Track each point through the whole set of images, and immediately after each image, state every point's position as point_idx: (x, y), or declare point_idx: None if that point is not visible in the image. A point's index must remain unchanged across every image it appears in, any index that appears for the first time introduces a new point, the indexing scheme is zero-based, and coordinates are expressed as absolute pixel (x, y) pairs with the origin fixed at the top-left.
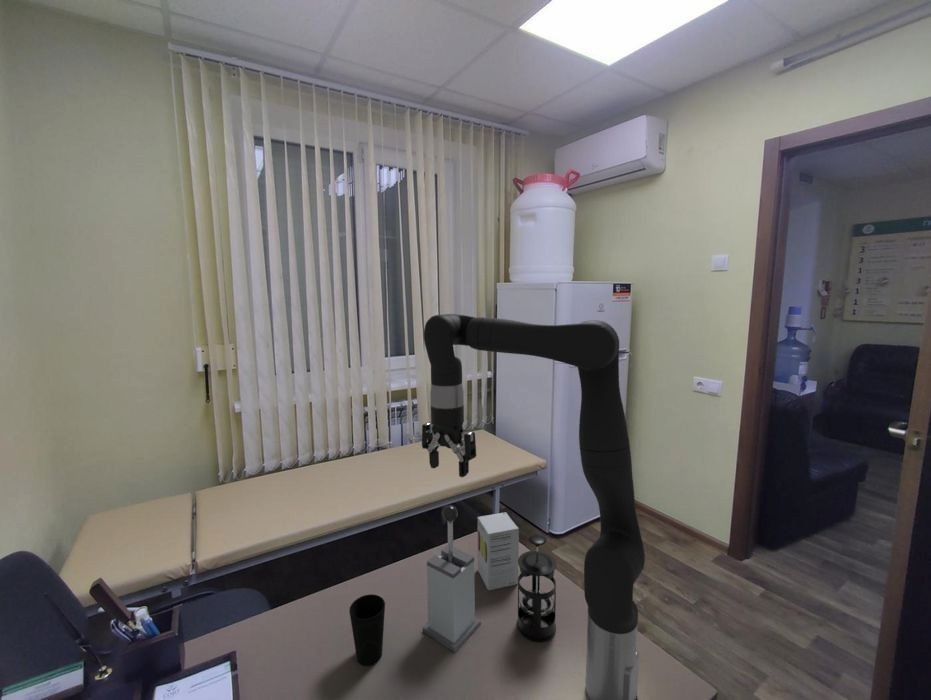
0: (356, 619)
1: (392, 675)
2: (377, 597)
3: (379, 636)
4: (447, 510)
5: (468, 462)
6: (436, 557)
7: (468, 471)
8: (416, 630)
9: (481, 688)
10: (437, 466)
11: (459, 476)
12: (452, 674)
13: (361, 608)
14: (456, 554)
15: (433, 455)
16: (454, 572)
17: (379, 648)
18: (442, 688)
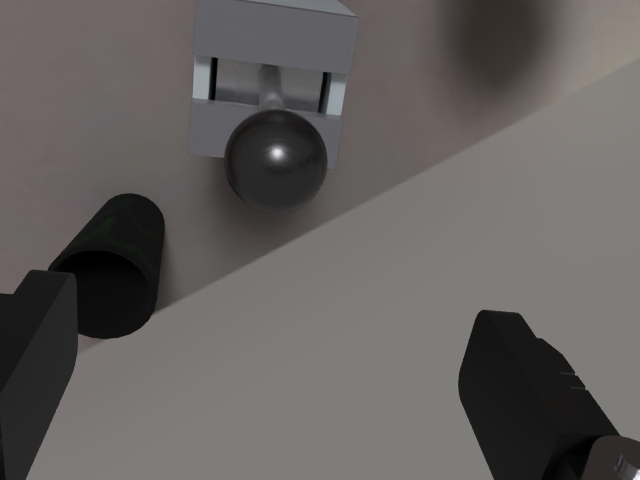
0: (114, 337)
1: (222, 234)
2: (91, 249)
3: (160, 255)
4: (281, 209)
5: (616, 434)
6: (208, 112)
7: (560, 358)
8: (180, 99)
9: (424, 160)
10: (74, 289)
11: (458, 386)
12: (346, 164)
13: (63, 264)
14: (276, 46)
15: (18, 470)
16: (332, 156)
17: (162, 237)
18: (343, 203)
